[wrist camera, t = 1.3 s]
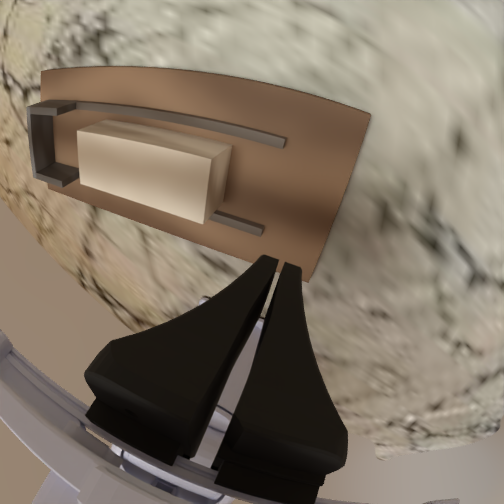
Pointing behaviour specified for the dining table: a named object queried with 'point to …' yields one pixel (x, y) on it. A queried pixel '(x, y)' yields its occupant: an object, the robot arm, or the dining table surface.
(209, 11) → the dining table surface
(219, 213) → the board
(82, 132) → the cream rectangular block
